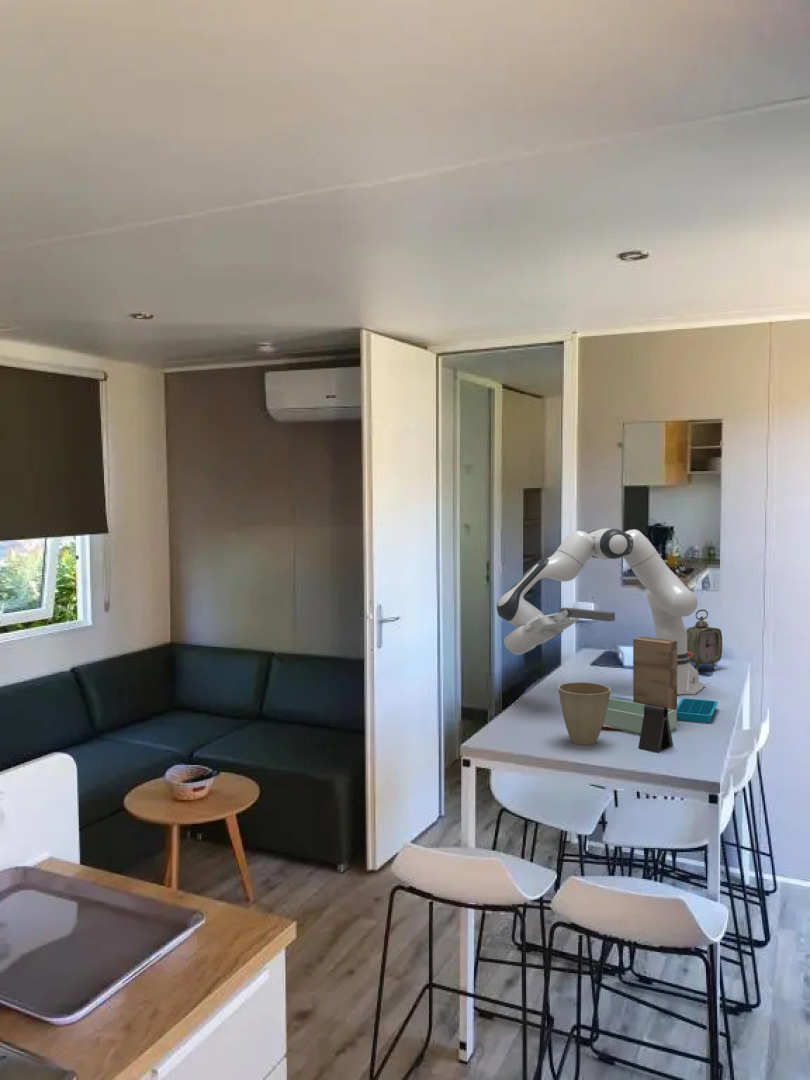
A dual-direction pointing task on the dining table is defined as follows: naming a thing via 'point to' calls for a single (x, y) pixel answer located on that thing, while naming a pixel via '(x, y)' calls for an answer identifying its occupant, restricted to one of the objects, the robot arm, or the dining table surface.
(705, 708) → the ice cube tray
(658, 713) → the phone stand
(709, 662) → the tabletop clock
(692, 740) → the dining table surface
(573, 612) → the gray rectangular bar
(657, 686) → the walnut stand
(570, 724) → the plant pot
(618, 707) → the green tray
